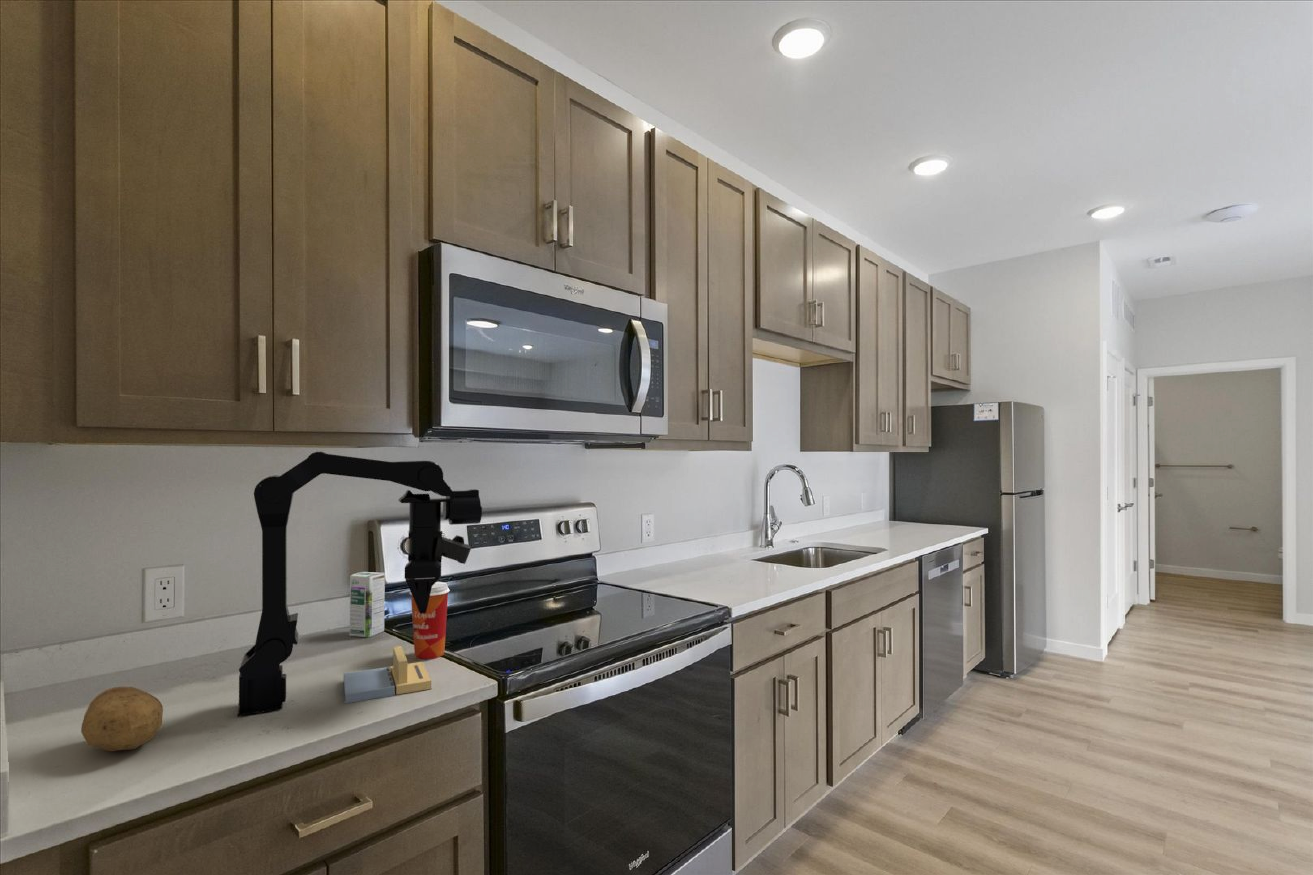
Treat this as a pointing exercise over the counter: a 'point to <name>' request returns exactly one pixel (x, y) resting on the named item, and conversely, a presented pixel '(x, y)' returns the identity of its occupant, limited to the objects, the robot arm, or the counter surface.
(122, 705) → the potato
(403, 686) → the stub
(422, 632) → the coffee cup
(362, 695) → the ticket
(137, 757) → the counter surface
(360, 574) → the syrup box
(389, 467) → the robot arm
